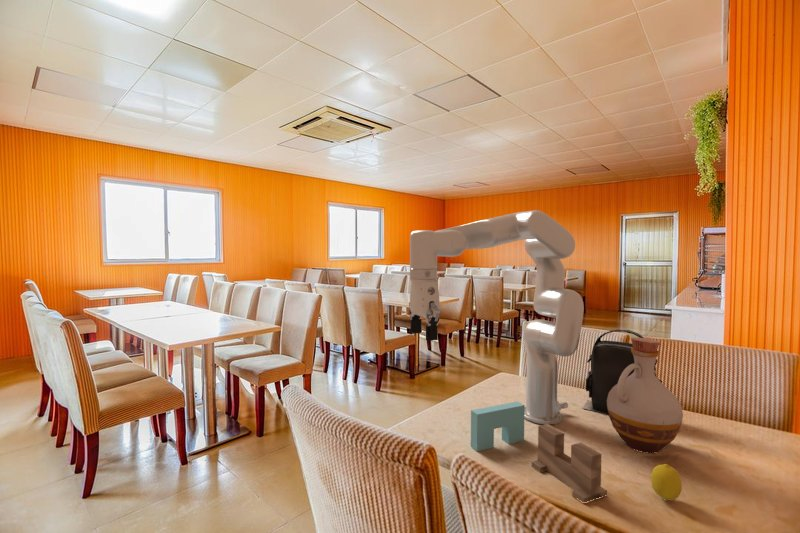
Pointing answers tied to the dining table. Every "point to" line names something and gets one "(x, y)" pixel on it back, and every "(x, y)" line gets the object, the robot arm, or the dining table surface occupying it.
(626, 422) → the jug
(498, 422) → the teal notched arch
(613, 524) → the dining table surface
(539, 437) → the walnut stand
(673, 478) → the lemon
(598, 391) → the shoulder bag
